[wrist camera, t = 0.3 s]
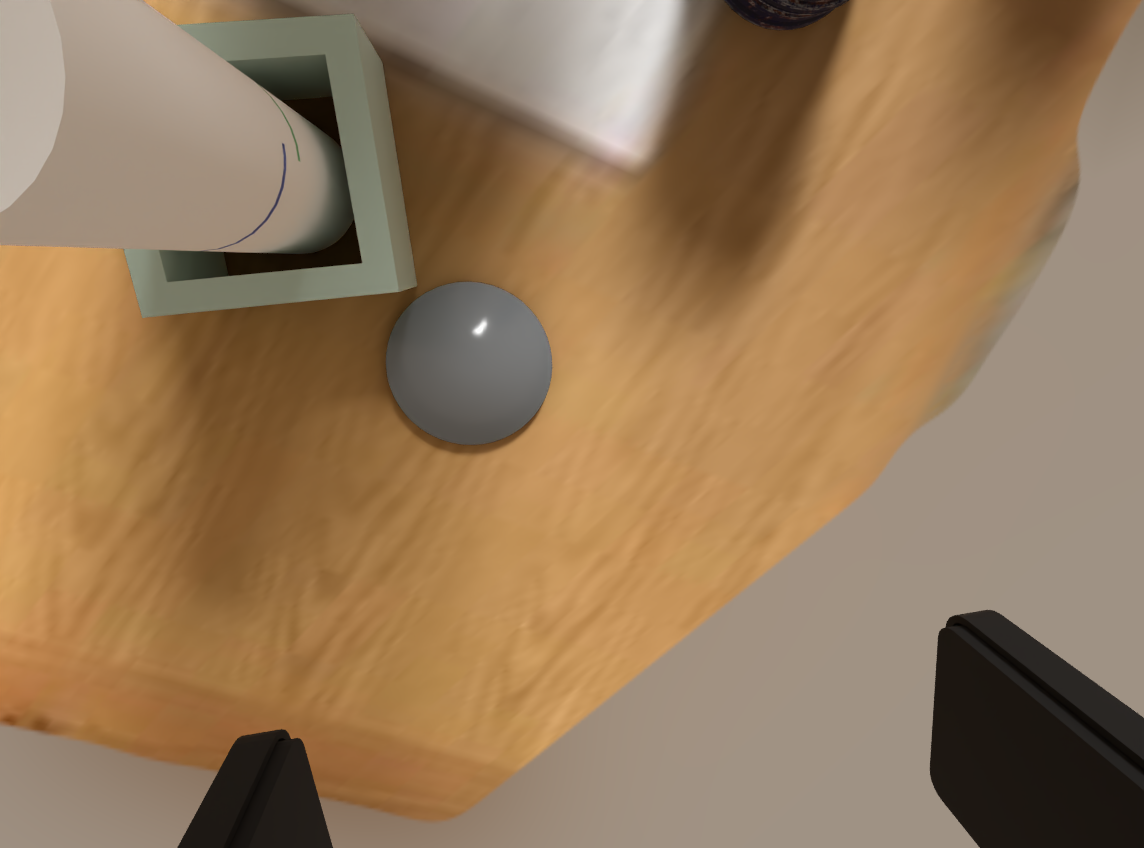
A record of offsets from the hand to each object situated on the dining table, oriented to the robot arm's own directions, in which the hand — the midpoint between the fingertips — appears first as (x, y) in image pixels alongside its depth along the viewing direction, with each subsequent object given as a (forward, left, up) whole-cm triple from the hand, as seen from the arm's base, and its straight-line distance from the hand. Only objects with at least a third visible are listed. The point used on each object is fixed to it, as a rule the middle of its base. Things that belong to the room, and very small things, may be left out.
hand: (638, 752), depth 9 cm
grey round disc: (-1, -4, -32) cm, 32 cm away
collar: (-12, -12, -32) cm, 36 cm away
